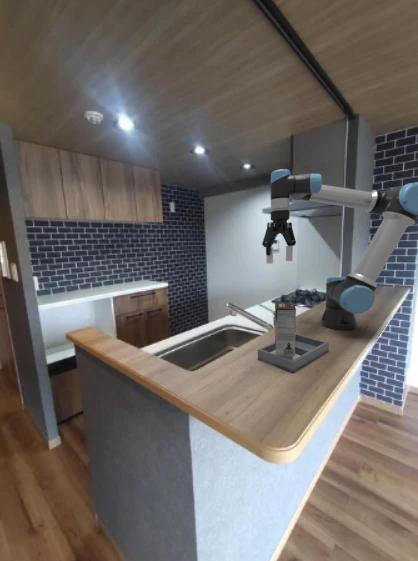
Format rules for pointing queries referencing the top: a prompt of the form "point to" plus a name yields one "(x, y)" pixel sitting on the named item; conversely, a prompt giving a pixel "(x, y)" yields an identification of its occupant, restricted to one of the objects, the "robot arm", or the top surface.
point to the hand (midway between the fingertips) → (279, 262)
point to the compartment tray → (304, 353)
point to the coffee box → (285, 328)
